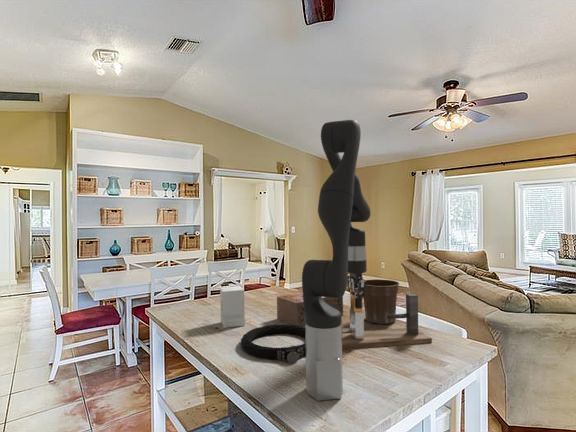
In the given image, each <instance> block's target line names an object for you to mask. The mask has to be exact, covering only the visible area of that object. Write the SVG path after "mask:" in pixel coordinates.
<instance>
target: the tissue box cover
mask: <svg viewBox="0 0 576 432" xmlns="http://www.w3.org/2000/svg"><path fill="white" fill-rule="evenodd" d="M322 299H323V301H324V302H325V303H327V304H328V305H329V306H331V307H333V308H335V309H337V310H338V311H339V312H340V313H341V317H343V316H344V295H343V296H342V297H341V298H330V297H322ZM276 316H277V317H276V319H277V320H279V321H281V322H284V323H286V324H287V325H296V326H303V327H305V315H304V305H303V291H301V292H297V293H291V294H289V293H288V294H283V295H279V296H276Z"/></svg>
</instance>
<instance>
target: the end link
mask: <svg viewBox="0 0 576 432" xmlns="http://www.w3.org/2000/svg"><path fill="white" fill-rule="evenodd" d="M349 294H350V293H349ZM349 296H350V297H349V298H350V307H349V327H347V328H346V327H345V328H342V333H350V334H351V335H352V336H353V337H354V338H355V339H364V331H365V320H364V316H365V311H363V307H362V308H361V309H356V308H355V294H350V295H349Z"/></svg>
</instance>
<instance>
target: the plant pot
mask: <svg viewBox="0 0 576 432" xmlns="http://www.w3.org/2000/svg"><path fill="white" fill-rule="evenodd" d="M363 281H366V289H365V297H363V298H362V299H363V305H364V306H363V307H364V316H365V320H366V322H368V323H372V324H376V323H377V324H379V325H389V324H393V323H394V322H396V319H387V317H386V315H388V314H397V299H398V297H397V296H398V292H399V285H400V282H399V281H396V280H390V279H366V280H364V279H363Z"/></svg>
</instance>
